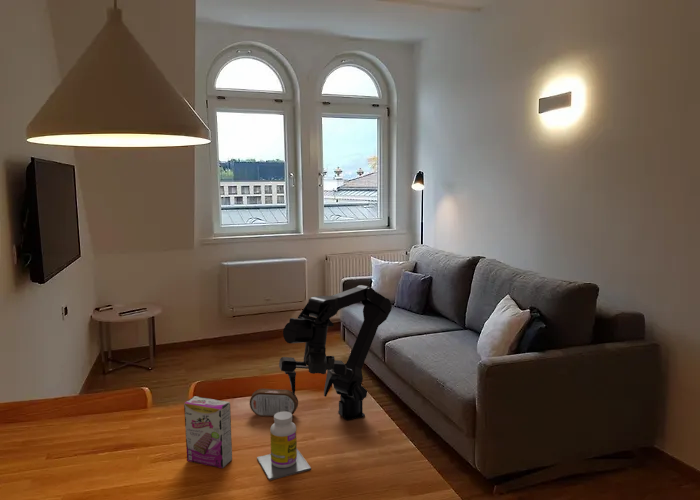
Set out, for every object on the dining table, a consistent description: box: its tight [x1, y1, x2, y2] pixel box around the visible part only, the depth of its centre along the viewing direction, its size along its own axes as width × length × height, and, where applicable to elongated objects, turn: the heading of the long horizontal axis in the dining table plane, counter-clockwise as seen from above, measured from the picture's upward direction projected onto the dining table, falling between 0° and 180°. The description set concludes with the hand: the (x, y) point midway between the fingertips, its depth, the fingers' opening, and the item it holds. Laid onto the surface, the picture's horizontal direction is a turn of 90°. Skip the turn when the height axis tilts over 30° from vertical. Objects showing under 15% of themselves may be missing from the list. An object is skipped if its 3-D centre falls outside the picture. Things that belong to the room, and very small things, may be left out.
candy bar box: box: [183, 395, 233, 469], centre depth 138 cm, size 11×5×16 cm, turn 71°
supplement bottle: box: [269, 411, 298, 468], centre depth 136 cm, size 7×7×13 cm
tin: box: [249, 388, 299, 418], centre depth 164 cm, size 15×3×8 cm, turn 84°
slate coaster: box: [256, 448, 312, 481], centre depth 137 cm, size 11×11×1 cm
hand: (309, 395), depth 151 cm, fingers open, 9 cm apart
